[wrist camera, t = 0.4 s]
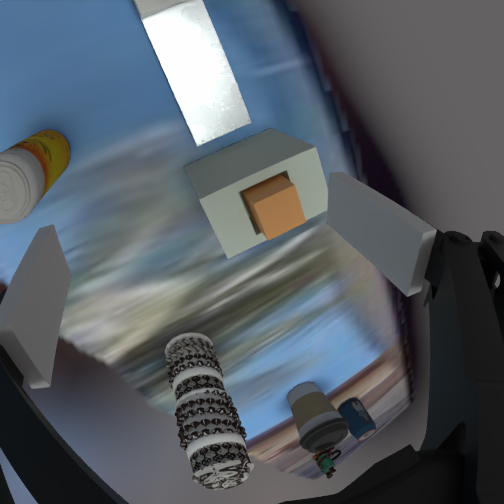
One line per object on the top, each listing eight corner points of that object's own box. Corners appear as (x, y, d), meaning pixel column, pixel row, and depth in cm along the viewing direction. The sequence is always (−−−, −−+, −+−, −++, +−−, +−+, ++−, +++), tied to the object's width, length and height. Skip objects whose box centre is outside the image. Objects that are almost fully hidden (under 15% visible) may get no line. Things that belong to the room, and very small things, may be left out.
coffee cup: (272, 408, 71) (296, 460, 58) (287, 378, 66) (316, 433, 54) (313, 402, 75) (339, 448, 63) (330, 372, 70) (361, 421, 58)
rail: (119, -30, 23) (118, -34, 22) (176, -50, 24) (177, -55, 23) (195, 144, 38) (197, 146, 36) (248, 121, 38) (251, 122, 37)
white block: (183, 167, 38) (199, 199, 29) (273, 126, 39) (319, 145, 29) (206, 213, 42) (228, 259, 32) (289, 173, 43) (335, 206, 33)
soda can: (338, 414, 84) (356, 445, 74) (335, 405, 80) (355, 438, 70) (358, 403, 85) (378, 433, 75) (357, 393, 81) (378, 424, 71)
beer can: (63, 121, 31) (19, 144, 18) (77, 167, 34) (44, 214, 22) (21, 140, 30) (-36, 174, 17) (36, 184, 33) (-10, 238, 21)
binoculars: (346, 470, 94) (323, 482, 90) (331, 449, 102) (309, 460, 98) (353, 460, 89) (329, 473, 86) (338, 439, 98) (314, 450, 94)
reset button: (237, 186, 32) (253, 204, 28) (274, 169, 32) (294, 184, 28) (251, 219, 34) (268, 240, 30) (285, 202, 34) (306, 221, 30)
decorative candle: (218, 328, 53) (269, 462, 32) (212, 365, 57) (254, 487, 36) (163, 330, 50) (192, 475, 29) (163, 368, 54) (190, 498, 33)
